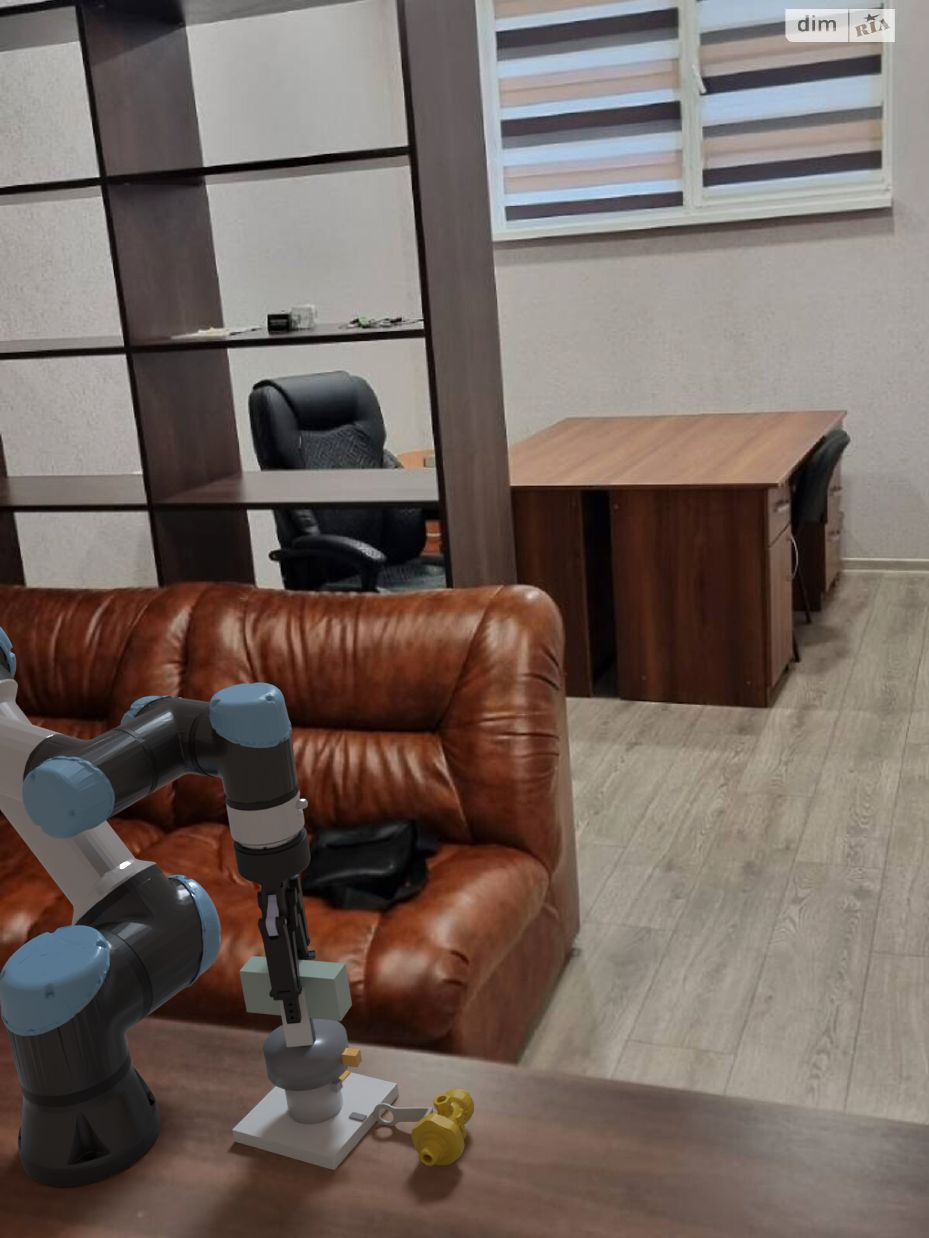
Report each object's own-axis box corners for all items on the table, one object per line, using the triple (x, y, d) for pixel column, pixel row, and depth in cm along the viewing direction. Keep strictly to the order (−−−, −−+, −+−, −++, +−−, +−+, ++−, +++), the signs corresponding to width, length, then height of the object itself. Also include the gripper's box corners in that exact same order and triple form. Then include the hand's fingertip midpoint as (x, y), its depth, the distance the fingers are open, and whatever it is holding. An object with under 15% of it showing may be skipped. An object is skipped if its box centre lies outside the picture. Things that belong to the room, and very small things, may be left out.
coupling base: (234, 1141, 147) (224, 1089, 145) (303, 1071, 157) (294, 1022, 155) (334, 1170, 140) (325, 1116, 138) (398, 1094, 151) (391, 1044, 149)
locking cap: (244, 1084, 145) (226, 986, 141) (281, 1035, 153) (264, 941, 149) (344, 1096, 141) (327, 995, 137) (376, 1045, 149) (361, 948, 145)
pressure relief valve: (491, 1117, 145) (457, 1182, 136) (393, 1118, 150) (354, 1180, 141) (476, 1073, 144) (441, 1135, 135) (378, 1075, 149) (338, 1135, 140)
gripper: (295, 868, 131) (329, 1076, 137) (314, 794, 147) (344, 983, 154) (218, 876, 131) (255, 1083, 138) (246, 801, 147) (278, 989, 154)
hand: (302, 1030), depth 146 cm, fingers closed on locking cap, 4 cm apart
